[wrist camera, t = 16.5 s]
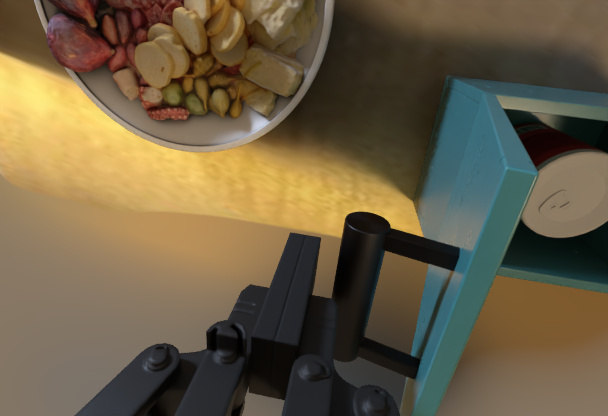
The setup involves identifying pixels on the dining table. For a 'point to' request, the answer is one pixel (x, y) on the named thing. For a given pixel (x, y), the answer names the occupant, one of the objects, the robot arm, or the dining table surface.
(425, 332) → the chest lid
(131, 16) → the bowl
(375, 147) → the dining table surface
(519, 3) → the dining table surface
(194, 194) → the dining table surface
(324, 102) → the dining table surface
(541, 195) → the canned food
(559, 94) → the box
